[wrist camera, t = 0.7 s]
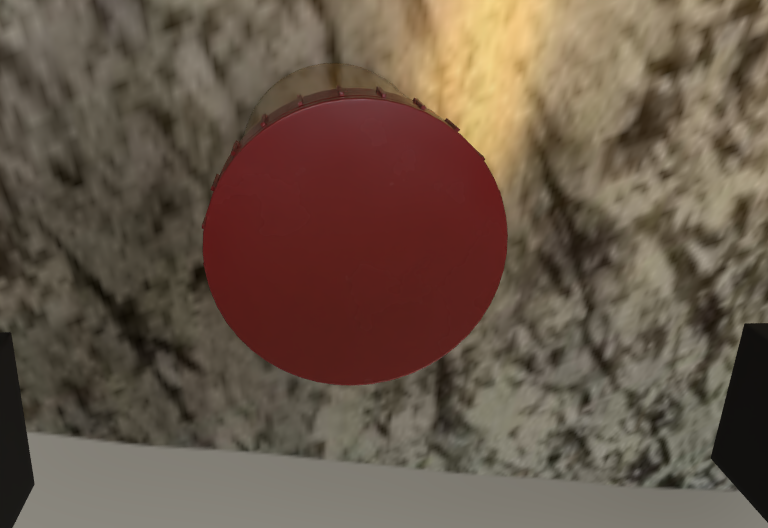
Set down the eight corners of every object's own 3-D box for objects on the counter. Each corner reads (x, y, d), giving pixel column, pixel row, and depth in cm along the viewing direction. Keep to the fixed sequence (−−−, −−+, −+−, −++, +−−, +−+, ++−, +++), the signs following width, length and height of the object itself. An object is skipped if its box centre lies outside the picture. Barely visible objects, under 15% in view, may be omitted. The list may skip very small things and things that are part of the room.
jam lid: (213, 357, 21) (206, 390, 19) (202, 79, 18) (192, 90, 16) (477, 353, 22) (493, 384, 20) (505, 90, 19) (527, 100, 18)
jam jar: (244, 241, 29) (221, 370, 20) (240, 59, 27) (211, 103, 17) (417, 242, 30) (478, 365, 21) (429, 66, 28) (505, 112, 18)
